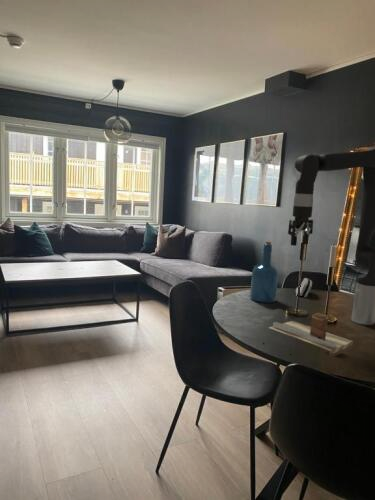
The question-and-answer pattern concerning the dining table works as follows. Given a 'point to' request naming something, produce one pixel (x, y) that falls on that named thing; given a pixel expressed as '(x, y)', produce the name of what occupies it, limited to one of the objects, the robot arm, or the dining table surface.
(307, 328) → the board
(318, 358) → the dining table surface
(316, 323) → the brown squarish block
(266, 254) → the wine bottle
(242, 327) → the dining table surface
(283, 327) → the rail
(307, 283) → the hinge
